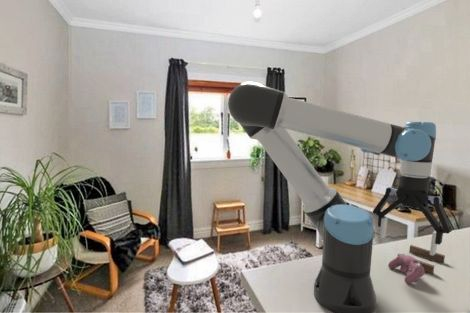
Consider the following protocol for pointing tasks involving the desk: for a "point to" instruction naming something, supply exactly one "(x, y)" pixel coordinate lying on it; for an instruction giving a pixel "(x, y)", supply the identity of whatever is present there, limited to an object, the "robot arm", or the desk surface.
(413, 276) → the video game controller
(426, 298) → the desk surface
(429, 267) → the dock
